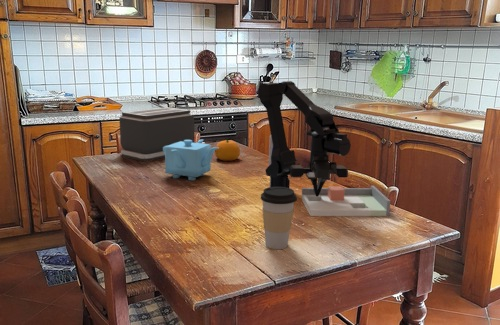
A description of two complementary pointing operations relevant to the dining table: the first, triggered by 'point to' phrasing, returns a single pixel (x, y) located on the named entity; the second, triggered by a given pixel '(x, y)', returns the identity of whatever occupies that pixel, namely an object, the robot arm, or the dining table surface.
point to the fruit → (227, 150)
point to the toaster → (154, 131)
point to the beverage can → (270, 149)
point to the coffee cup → (277, 215)
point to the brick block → (336, 193)
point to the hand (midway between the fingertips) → (316, 196)
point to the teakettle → (188, 159)
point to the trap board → (347, 203)
